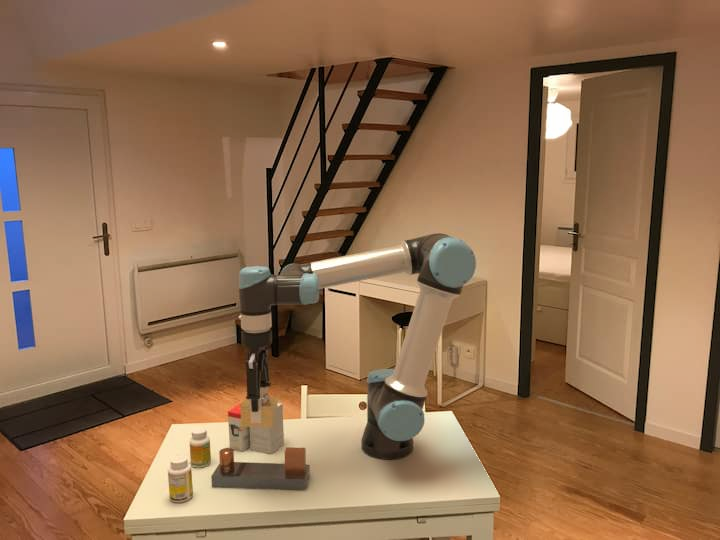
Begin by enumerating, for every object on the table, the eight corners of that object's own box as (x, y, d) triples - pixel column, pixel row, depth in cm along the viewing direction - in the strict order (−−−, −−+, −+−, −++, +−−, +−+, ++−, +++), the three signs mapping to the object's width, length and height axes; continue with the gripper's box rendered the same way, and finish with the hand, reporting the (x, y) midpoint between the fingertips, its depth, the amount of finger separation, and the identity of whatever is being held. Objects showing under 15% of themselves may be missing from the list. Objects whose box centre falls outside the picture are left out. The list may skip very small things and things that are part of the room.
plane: (309, 475, 156) (309, 443, 154) (304, 490, 148) (304, 457, 147) (221, 471, 157) (219, 440, 156) (211, 487, 150) (210, 454, 148)
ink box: (246, 436, 178) (244, 390, 176) (259, 439, 176) (258, 393, 173) (228, 449, 170) (226, 401, 168) (243, 452, 168) (240, 403, 166)
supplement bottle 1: (184, 488, 149) (182, 451, 147) (197, 496, 146) (195, 458, 144) (165, 498, 145) (162, 459, 143) (177, 506, 141) (175, 466, 140)
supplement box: (284, 443, 173) (283, 403, 171) (270, 454, 167) (269, 412, 165) (263, 439, 177) (262, 399, 174) (249, 449, 170) (247, 408, 168)
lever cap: (277, 417, 153) (277, 392, 151) (272, 427, 147) (271, 401, 146) (247, 416, 153) (246, 391, 152) (241, 426, 147) (240, 400, 146)
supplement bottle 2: (205, 469, 159) (203, 435, 157) (187, 467, 160) (185, 433, 158) (214, 459, 164) (212, 426, 162) (196, 457, 165) (194, 425, 164)
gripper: (251, 319, 155) (254, 401, 159) (230, 339, 137) (234, 432, 141) (279, 319, 155) (282, 402, 159) (262, 340, 136) (265, 433, 140)
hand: (259, 416), depth 150 cm, fingers closed on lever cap, 6 cm apart
